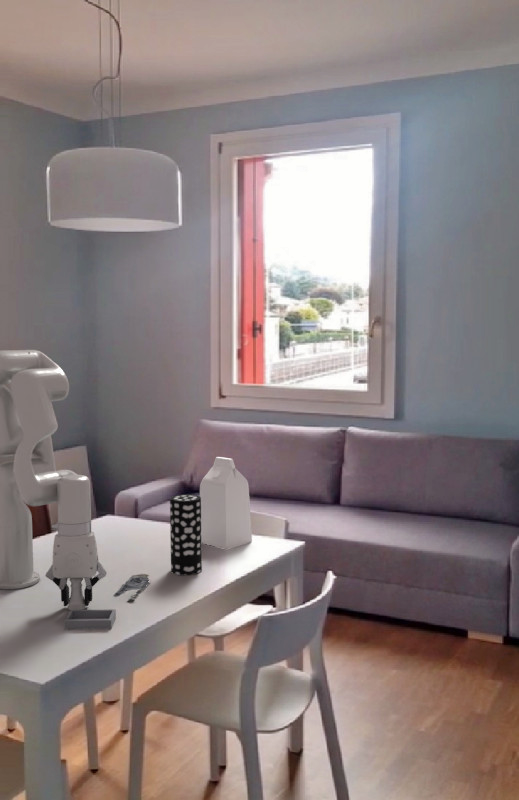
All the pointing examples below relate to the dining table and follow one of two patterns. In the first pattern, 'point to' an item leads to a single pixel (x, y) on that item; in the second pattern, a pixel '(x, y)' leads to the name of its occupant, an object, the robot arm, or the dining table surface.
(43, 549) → the dining table surface
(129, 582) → the driftwood
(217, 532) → the milk
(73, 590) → the rook chess piece
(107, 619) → the gray rectangular open tray
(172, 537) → the white-spotted black cylinder
